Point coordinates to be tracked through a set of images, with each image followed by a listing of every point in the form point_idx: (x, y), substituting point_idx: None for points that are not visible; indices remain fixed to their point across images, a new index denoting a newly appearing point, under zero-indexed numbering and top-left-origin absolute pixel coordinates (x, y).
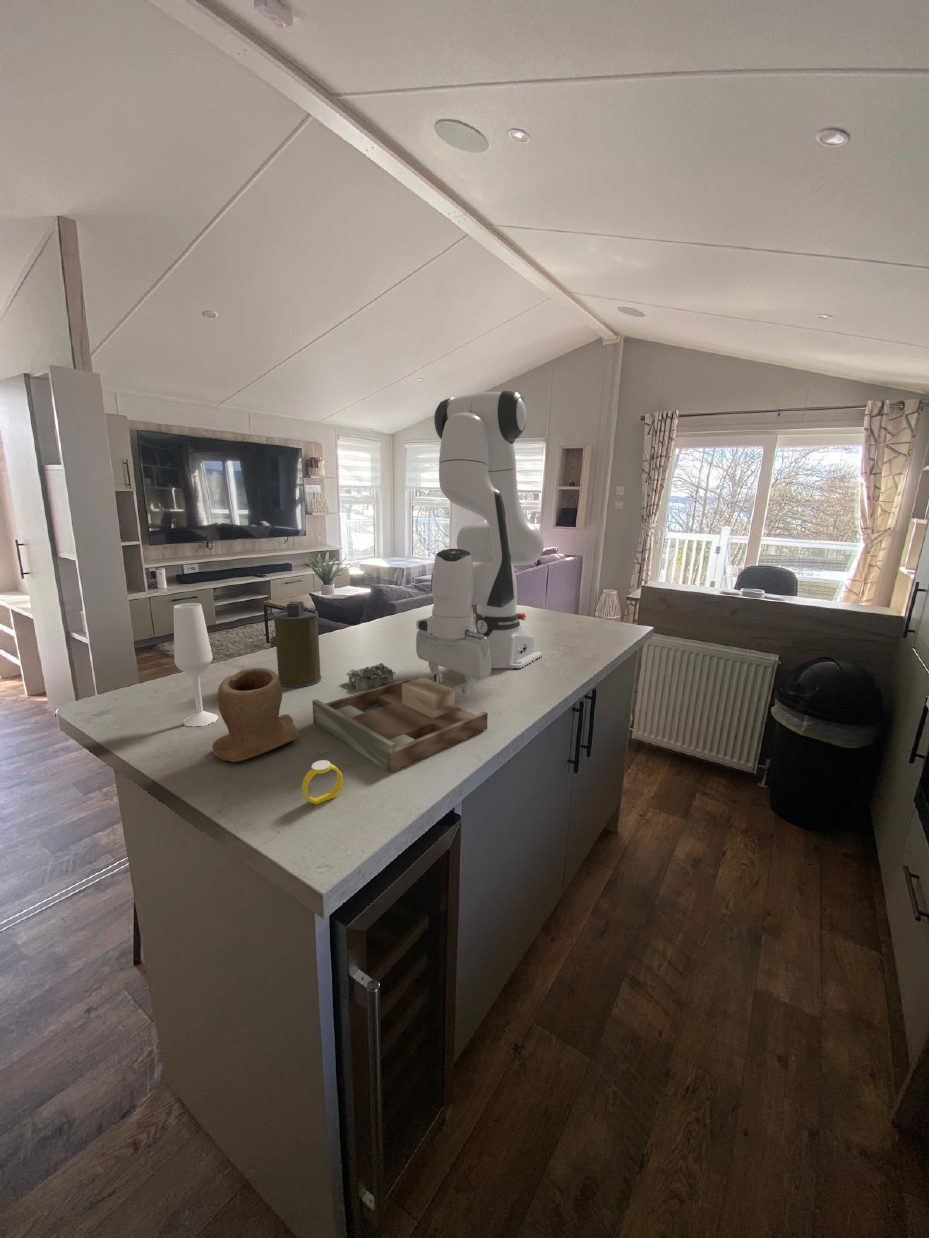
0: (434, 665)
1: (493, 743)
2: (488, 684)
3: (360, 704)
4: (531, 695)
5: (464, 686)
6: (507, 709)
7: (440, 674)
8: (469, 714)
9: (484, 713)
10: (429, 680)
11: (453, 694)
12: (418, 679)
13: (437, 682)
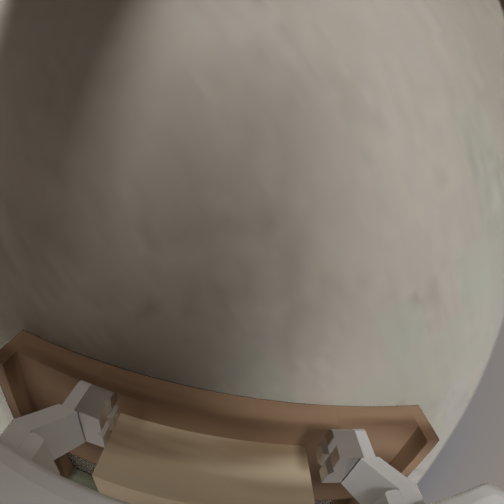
0: (54, 470)
1: (440, 433)
2: (219, 6)
3: (62, 464)
4: (452, 48)
5: (340, 481)
6: (446, 241)
7: (99, 428)
8: (369, 437)
9: (431, 447)
10: (142, 494)
11: (311, 499)
12: (102, 491)
13: (118, 414)
